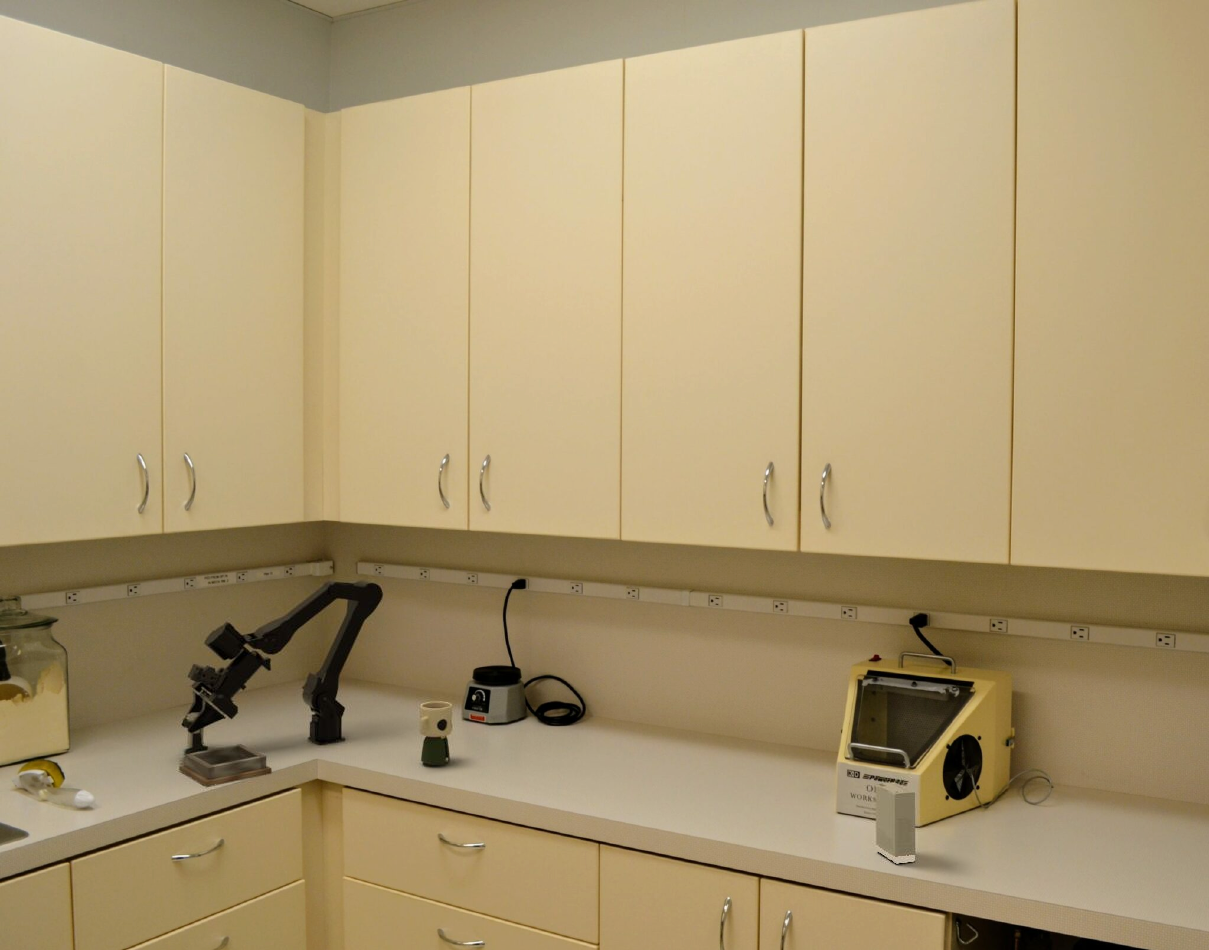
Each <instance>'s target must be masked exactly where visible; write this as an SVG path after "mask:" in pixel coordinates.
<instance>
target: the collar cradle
mask: <svg viewBox="0 0 1209 950" xmlns="http://www.w3.org/2000/svg"><path fill="white" fill-rule="evenodd" d="M183 759H184V761H183V763H184V765H183V764H182V765H179V766H178V771H179V770H180V771H182V772H183V773H182V772H181V773H182V774H184V773H185V774H187V775H188V776H187V775H186V776H187V777H189V776H190V777H192V778H193V779H192V778H191V779H192V780H194V779H195V780H197V781H198V782H197V781H196V782H197V783H199V782H200V783H201V784H200V783H199V784H200V785H202V784H203V786H204V787H205V786H206V787H207V786H208V787H212V785H213V786H216V785H215V784H217V785H221V783H222V784H226V782H227V783H231V782H235V780H236V781H240V780H241V781H242V780H244V779H249V778H254V777H259V776H264V775H268V774H272V773H273V772H272V767H270V766H268V765H267V756H266V755H265V754H263V753H261V752H258V751H256V750H254V749H252V748H250V747H248V746H246V745H244V744H242V743H239V744H234V745H227V746H223V747H217V748H213V749H208V750H206V751H201V752H196V753H190V754H185V758H184V757H183ZM180 771H179V772H180ZM185 774H184V775H185ZM190 777H189V778H190ZM195 780H194V781H195Z"/></svg>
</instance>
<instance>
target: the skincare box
mask: <svg viewBox="0 0 1209 950" xmlns="http://www.w3.org/2000/svg"><path fill="white" fill-rule="evenodd" d="M874 792H875V846H876V845H878V846H879V847H880V848H882V849H883V850H884V851H886V852H888V853H889V854H891V855H893V856H895V857H898V856H906V855H907V856H909V855H915V856H916V792H915V791H913V790H911V789H909V788H907V787H904V786H902V785H901V784H899V783H897V782H895V781H893V782H885V783H884V782H883V783H878V784H875V791H874Z"/></svg>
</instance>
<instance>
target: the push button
mask: <svg viewBox="0 0 1209 950" xmlns="http://www.w3.org/2000/svg"><path fill="white" fill-rule="evenodd" d="M199 713H200V712H195V713H190V714H188V715H187V714H186V715H187V717H186V716H185V717H186V718H185V717H184V718H183V719H182V722H184V727H185V728H186V729H187V730H188V728H189V727H190V725H191V724H192V722H193V721H194V720H195V718H196V717H197V715H198V714H199ZM184 727H183V728H184ZM204 728H205V727H204ZM204 728H202V729H199V730H197V731H195V732H193V733H189V732H188V731H187V740H186V741H187V742H186V743H187V745H186V748H184V749H183V755H180V756H179V759H180V758H181V760H179V761H178V762H179V763H184V758H185V754H190V753H196V752H201V751H206V750H209V749H208V746H207V745H204V744H205V742H204V733H205V732H204Z"/></svg>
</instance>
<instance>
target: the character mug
mask: <svg viewBox="0 0 1209 950" xmlns="http://www.w3.org/2000/svg"><path fill="white" fill-rule="evenodd" d="M452 717H453V704H452V703H451V702H447V701H439V700H437V701H427V702H423V703H421V704H420V707H419V734H420V735H421V736H425V737H424V740H423V742H422V749H421V755H420V756H421V757H420V761H421V762H422V763H423V764H424V763H425V764H428V765H430V764H431V765H430V766H441V765H445V764H446V765H447V762H448V763H450V761H451V759H450V758H451V757H450V747H449V740H448V737H447V736H449V735H451V733H452V732H453V723H452V719H453V718H452Z"/></svg>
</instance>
